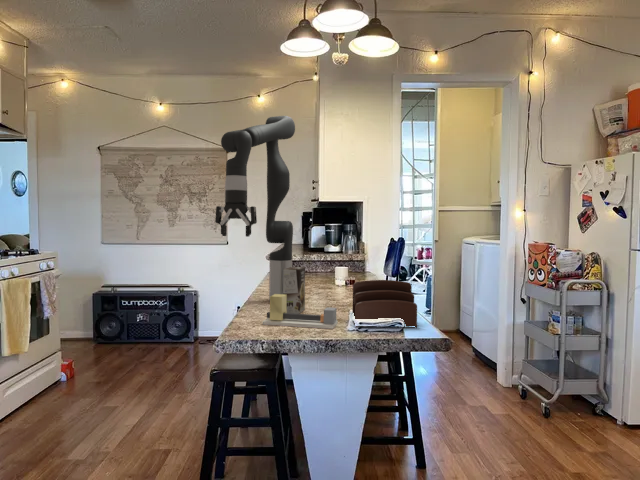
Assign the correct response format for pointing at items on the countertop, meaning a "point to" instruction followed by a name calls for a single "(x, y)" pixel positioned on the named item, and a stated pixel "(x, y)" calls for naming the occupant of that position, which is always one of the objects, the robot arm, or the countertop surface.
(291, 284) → the coffee box
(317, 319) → the white base plate
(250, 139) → the robot arm
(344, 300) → the countertop surface
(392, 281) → the letter holder
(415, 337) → the countertop surface
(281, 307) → the sleeve
